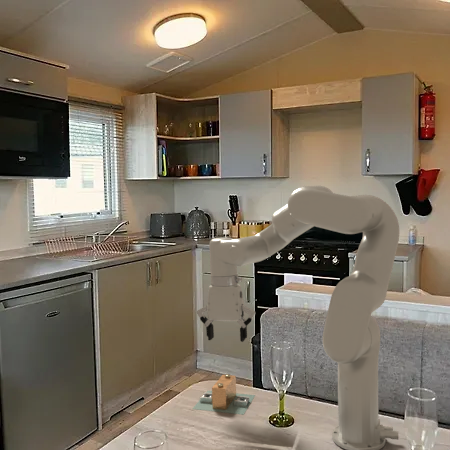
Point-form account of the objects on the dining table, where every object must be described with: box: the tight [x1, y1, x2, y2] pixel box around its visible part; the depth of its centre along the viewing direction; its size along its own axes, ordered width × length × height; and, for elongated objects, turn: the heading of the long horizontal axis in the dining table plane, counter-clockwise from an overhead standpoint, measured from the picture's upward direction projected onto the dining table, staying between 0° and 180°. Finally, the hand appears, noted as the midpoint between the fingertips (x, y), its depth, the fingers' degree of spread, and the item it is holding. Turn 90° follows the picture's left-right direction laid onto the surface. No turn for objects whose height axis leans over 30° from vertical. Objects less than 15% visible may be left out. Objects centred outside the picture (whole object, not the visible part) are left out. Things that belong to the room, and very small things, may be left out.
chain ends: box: [199, 392, 250, 407], centre depth 144 cm, size 14×4×1 cm, turn 72°
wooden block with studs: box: [211, 373, 237, 410], centre depth 144 cm, size 4×10×7 cm, turn 162°
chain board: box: [192, 390, 256, 416], centre depth 144 cm, size 15×13×1 cm
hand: (226, 339), depth 143 cm, fingers open, 9 cm apart
